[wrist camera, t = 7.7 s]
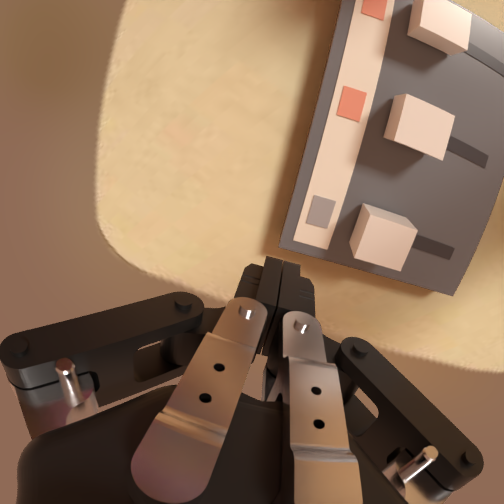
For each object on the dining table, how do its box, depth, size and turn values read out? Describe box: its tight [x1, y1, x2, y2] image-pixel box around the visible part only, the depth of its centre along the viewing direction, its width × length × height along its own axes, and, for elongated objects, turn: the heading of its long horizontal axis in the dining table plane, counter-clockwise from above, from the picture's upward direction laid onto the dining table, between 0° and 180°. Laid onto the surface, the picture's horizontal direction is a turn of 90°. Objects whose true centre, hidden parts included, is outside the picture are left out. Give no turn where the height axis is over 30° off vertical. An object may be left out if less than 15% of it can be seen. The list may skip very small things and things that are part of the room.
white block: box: [407, 0, 472, 56], centre depth 15 cm, size 4×4×3 cm
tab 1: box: [349, 203, 418, 271], centre depth 23 cm, size 4×4×3 cm
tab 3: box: [384, 94, 455, 161], centre depth 19 cm, size 4×4×3 cm
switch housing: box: [279, 0, 504, 296], centre depth 22 cm, size 18×26×3 cm
